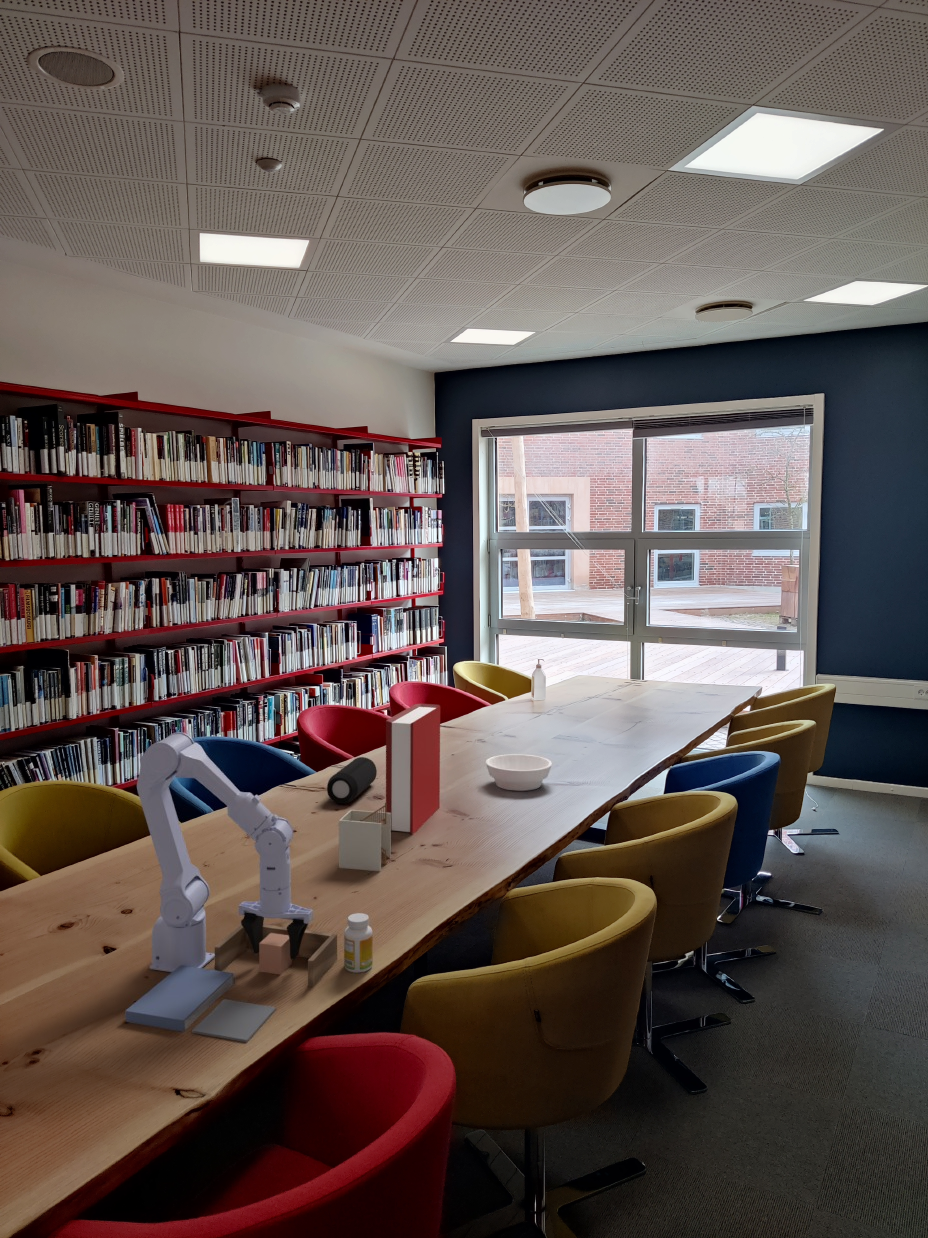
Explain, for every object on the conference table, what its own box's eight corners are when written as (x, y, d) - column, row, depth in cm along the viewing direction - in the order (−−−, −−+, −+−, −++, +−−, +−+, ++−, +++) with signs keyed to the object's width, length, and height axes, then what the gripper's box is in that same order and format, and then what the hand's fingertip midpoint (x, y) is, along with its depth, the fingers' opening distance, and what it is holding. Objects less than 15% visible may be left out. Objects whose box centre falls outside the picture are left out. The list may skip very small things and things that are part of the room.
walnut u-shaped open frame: (215, 972, 157) (214, 947, 157) (244, 946, 168) (244, 922, 167) (313, 987, 152) (313, 961, 152) (337, 959, 163) (337, 934, 162)
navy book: (183, 1035, 138) (183, 1020, 138) (125, 1025, 141) (125, 1011, 141) (233, 986, 153) (233, 973, 153) (180, 978, 156) (180, 965, 156)
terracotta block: (259, 971, 158) (259, 943, 157) (270, 960, 162) (270, 933, 162) (281, 975, 157) (281, 946, 156) (292, 963, 161) (292, 936, 161)
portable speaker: (351, 783, 286) (351, 754, 285) (379, 785, 284) (379, 756, 283) (324, 805, 261) (324, 773, 260) (354, 807, 259) (354, 775, 258)
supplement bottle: (373, 959, 163) (373, 911, 162) (371, 973, 157) (371, 923, 157) (345, 959, 163) (345, 911, 162) (342, 973, 157) (342, 923, 156)
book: (412, 835, 234) (413, 722, 231) (385, 832, 236) (386, 720, 234) (440, 806, 260) (441, 705, 258) (416, 804, 262) (416, 703, 260)
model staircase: (381, 873, 207) (381, 807, 206) (339, 869, 210) (338, 804, 208) (391, 860, 216) (391, 797, 215) (350, 857, 218) (350, 794, 217)
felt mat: (192, 1033, 138) (192, 1030, 138) (224, 1001, 147) (224, 999, 147) (247, 1042, 135) (247, 1040, 135) (276, 1010, 145) (276, 1007, 145)
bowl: (519, 773, 300) (520, 750, 299) (565, 788, 282) (566, 763, 282) (471, 784, 285) (471, 760, 285) (516, 800, 268) (517, 774, 267)
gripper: (319, 881, 160) (320, 949, 161) (251, 873, 164) (252, 940, 165) (303, 895, 153) (304, 967, 155) (232, 887, 157) (233, 957, 158)
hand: (276, 954), depth 159 cm, fingers open, 7 cm apart
